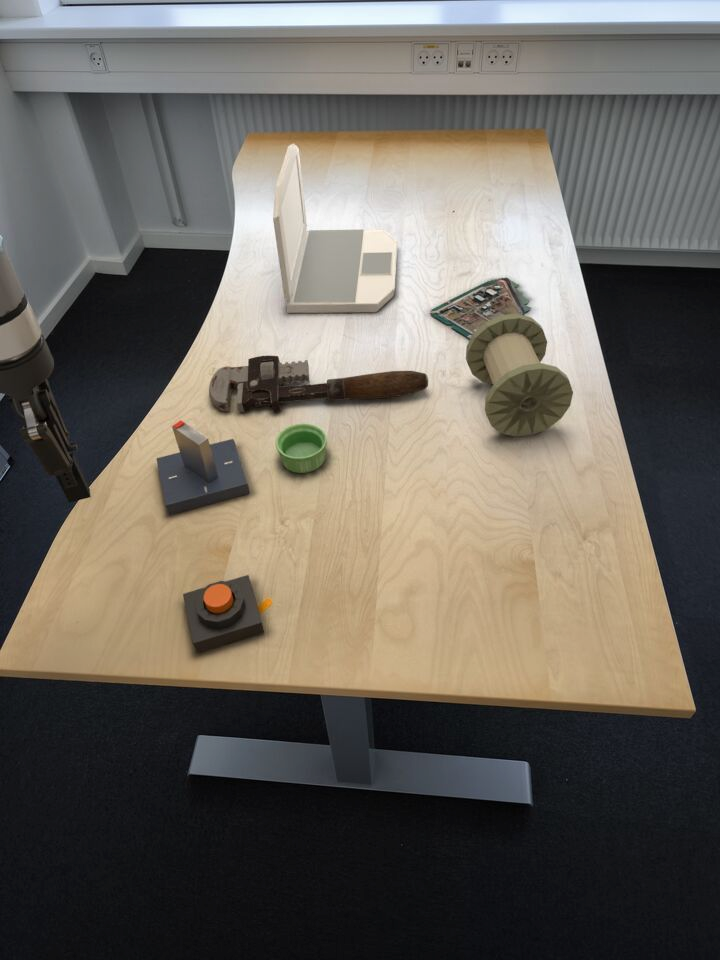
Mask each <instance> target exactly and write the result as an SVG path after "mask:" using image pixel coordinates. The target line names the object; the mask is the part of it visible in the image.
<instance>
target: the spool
mask: <svg viewBox="0 0 720 960" xmlns="http://www.w3.org/2000/svg"><path fill="white" fill-rule="evenodd" d="M547 346H548V339H547V337H546V334H545V331H544V329H543V327H542V325H541V324H540V323H538V322H537V321H536V320H535V319H534V318H533V317H532V316H528V315H525V314H522V315H521V314H508V315H501V316H498V317H496V318H494V319H492V320H490V321H487V322H485V323H484V324H483V325H482V326H481V327H480V328H479V329H478V330H477V331H475V332H474V333H473V335H472V337H471V339H469V341H468V343H467V345H466V351H465V361H466V363H467V366H468V368H469V370H470V373H471V375H472V376H474V377H475V378H476V379H478V380H479V381H481V383H484V384H490V385H492V386H491V387H490V389H489V391H488V393H487V394H486V396H485V400H484V401H485V402H484V412H485V415H486V417H487V420H488V421H489V424H490V425H491V428H493V429H495V430H496V431H497V432H499V433H500V434H502V435H507V436H511V437H516V438H518V437H526V436H534V435H537V433H540V432H543V431H545V430H548V429H550V428H551V427H553V426H554V425H555V424H556V423H557V422H559V421H560V420H562V418H563V417H564V416H565V414H566V413H567V411H568V410H569V408H570V407H571V405H572V401H573V400H572V399H573V395H574V390H573V388H572V385H571V381H570V379H569V377H568V375H567V374H566V373H564V372H563V371H562V370H561V369H560V368H558V367H557V366H556V365H552V364H551V365H550V364H546V363H542V361H543V359H544V357H546V353H547Z"/></svg>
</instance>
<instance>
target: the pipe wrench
mask: <svg viewBox="0 0 720 960" xmlns="http://www.w3.org/2000/svg"><path fill="white" fill-rule="evenodd" d="M247 361H248V362H247V365H243V366H230V365H229V366H223V367H220V368H219V369H217V370H216V371H215V372H214V373H213V375H212V377H211V379H210V382H209V386H208V397H209V399H210V401H211V402H212V404H213V406H215V407H216V408H217V409H219V410H220V411H221V412H230V411H231V408H230V407H231V396H232V391H233V390H234V389H236V390H237V392H236V405H237V409H238V413H248V412H249V411H251V410H252V409H253V408H255V407H256V408H258V407H261V406H272V412H273V413H279V412H281V406H282V405H284V403H292V402H301V401H311V400H320V399H328V401H329V402H331V401H332V402H333V401H341V400H361V399H363V400H364V399H365V400H366V399H381V398H394V397H401V396H406V395H412V394H415V393H418V392H420V391H423V390H426V389H427V388H428V387H429V376H428V374H427V373H424V372H421V371H416V370H390V371H389V370H388V371H382V372H376V373H375V372H374V373H367V374H366V373H365V374H361V375H360V374H359V375H354V376H347V377H339V378H330V379H326V382H323V383H316V384H315V383H313V384H311V383H309V384H303V385H288V384H291V383H293V384H296V383H297V382H299V383H304V381H305V382H306V383H308V382H310V370H309V368H310V367H309V361H308V360H307V359H306V360H304V361H302V360H298V361H297V362H296V361H293V360H292V361H291V362H290V363H289V361H286V362H284V363H282V362H280V358H279V356H278V355H258V356H254V357H251V358H248V359H247ZM284 383H285V384H287V386H282V385H284Z"/></svg>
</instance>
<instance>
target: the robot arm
mask: <svg viewBox="0 0 720 960" xmlns="http://www.w3.org/2000/svg"><path fill="white" fill-rule="evenodd" d="M22 287H23V286H22V285H21V283H20V281H19V277H18V275H17V273H16V270H15V268H14V265H13V264H12V260H11V259H10V255H9V253H8V251H7V248H6V246H5V243H4V238H3V237H2V235H1V234H0V394H3V395H6V396H9V397H8V402H9V405H10V407H11V409H12V411H13V413H14V414H16V415H17V416H18V418H19V420H20V422H21V424H22V426H23V427H22V428H20V430H19V435H20V437H21V438H22V440H23V441H24V442H25V443H26V444H28V445H29V447H30V448H31V450H32V451H33V453H34V455H35V456H36V458H37V460H39V462H40V463H41V465H42V467H43V472H44V473H47V475H48V476H49V478H51V477H55V478H56V480H57V482H58V484H59V486H60V488H61V490H62V492H63V494H64V496H65V498H66V499H67V502H68V503H69V504H70V503H73V502H77V501H82V500H86V499H90V498H91V497H92V495H91V489H90V486H89V484H88V482H87V480H86V478H85V476H84V473H83V471H82V469H81V467H80V465H79V463H78V461H77V458H76V456H75V455H74V451H78V449H79V448H78V444H77V442H76V441H75V442H70V441H69V440H68V439H69V438H70V433H69V431H68V429H67V427H66V425H65V422H64V420H63V417H62V415H61V412H60V410H59V406H58V404H57V402H56V399H55V396H54V394H53V392H52V390H51V387H50V383H49V380H48V378H49V377H50V376H51V374H52V373H53V371H54V369H55V361H54V360H55V359H54V357H53V355H52V353H51V350H50V348H49V345H48V343H47V341H46V338H45V337H44V335H43V334H42V328H41V326H40V323H39V321H38V319H37V317H36V314H35V312H34V311H33V308H32V305H31V303H30V301H29V299H28V297H27V296H26V294H25V291H24V290H23V288H22ZM70 452H73V453H70Z"/></svg>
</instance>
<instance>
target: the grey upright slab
mask: <svg viewBox="0 0 720 960" xmlns="http://www.w3.org/2000/svg"><path fill="white" fill-rule="evenodd" d="M171 428H172V432H173V435H174V437H175V441H176V444H177V448H178V450H179V452H180V454H181V457H182V460H183V463H184V465H185V466H187V467H188V468H190V469H191V470H192V471H194V472H195V473H197V474H198V475H200V476H201V477H202V478H204V479H205V480H207V481H208V482H211V481H212V480H214V479H215V478H216V477H218V473H217V470H216V466H215V462H214V459H213V455H212V451H211V448H210V441H209V438H208V437H207V436H206V435H204V434H203V433H201V432H200V431H198V430H196V429H195V428H193V427H192V426H191V425H190V424H188V423H186V422H184V421H183V420H181V419H180V420H179V421H177V422H176V423H174V424H172V426H171Z"/></svg>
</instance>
